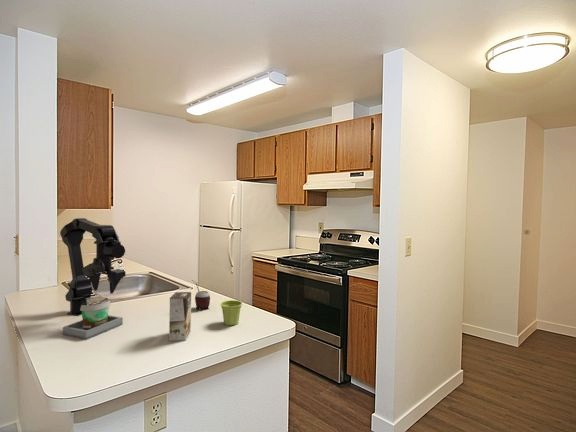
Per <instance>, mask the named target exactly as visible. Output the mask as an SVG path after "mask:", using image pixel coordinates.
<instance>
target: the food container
mask: <svg viewBox="0 0 576 432" xmlns="http://www.w3.org/2000/svg"><path fill="white" fill-rule="evenodd" d="M110 306H111V301H110V299H109V298H108V297H104V299H101V300H100V301H94V302H92V303H90V304H87V305H81V308H80V311H82V314H81V317H82V319H81V320H83V329H84V330H89V329H92V328H94V327H97V326H100V325H102V324H105V323H107V319H108V315H109V309H110V308H109V307H110Z"/></svg>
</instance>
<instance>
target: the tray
mask: <svg viewBox="0 0 576 432" xmlns="http://www.w3.org/2000/svg"><path fill="white" fill-rule="evenodd" d="M123 318H124V317H122V316H121V317H120V316H116V315H111V314H108V319H107V323H105V324H102V325H100V326H97V327H94V328H92V329H89V330H84V329H83V319H81V320H79V321H76V322H73V323H70V324H67V325H65V326H63V327H62V335H63V336H67V337H71V338H76V339H81V340H85V341H86V340H90V339H92V338H94V337H96V336H99V335H101V334H103V333H106V332H108V331H111V330H113V329H115V328H117V327H118V328H119V327H120V326H123V323H124V322H123Z"/></svg>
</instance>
